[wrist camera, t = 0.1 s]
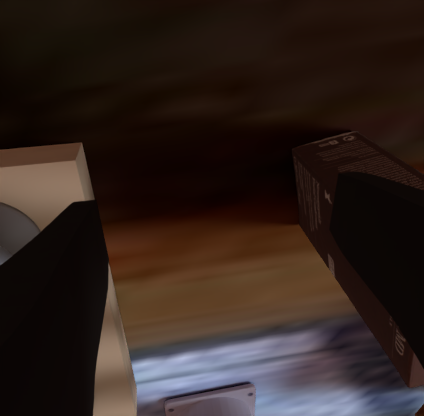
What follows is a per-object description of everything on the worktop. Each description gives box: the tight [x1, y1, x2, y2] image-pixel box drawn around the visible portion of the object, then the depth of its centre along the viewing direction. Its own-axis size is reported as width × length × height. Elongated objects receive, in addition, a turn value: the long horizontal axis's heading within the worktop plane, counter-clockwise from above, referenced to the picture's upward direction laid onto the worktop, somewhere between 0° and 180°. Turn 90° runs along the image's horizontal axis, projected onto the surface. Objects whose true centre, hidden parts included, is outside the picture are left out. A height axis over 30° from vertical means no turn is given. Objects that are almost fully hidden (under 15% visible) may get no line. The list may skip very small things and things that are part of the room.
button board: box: [0, 142, 137, 416], centre depth 22 cm, size 21×12×3 cm, turn 2°
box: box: [292, 131, 424, 388], centre depth 18 cm, size 6×4×12 cm
